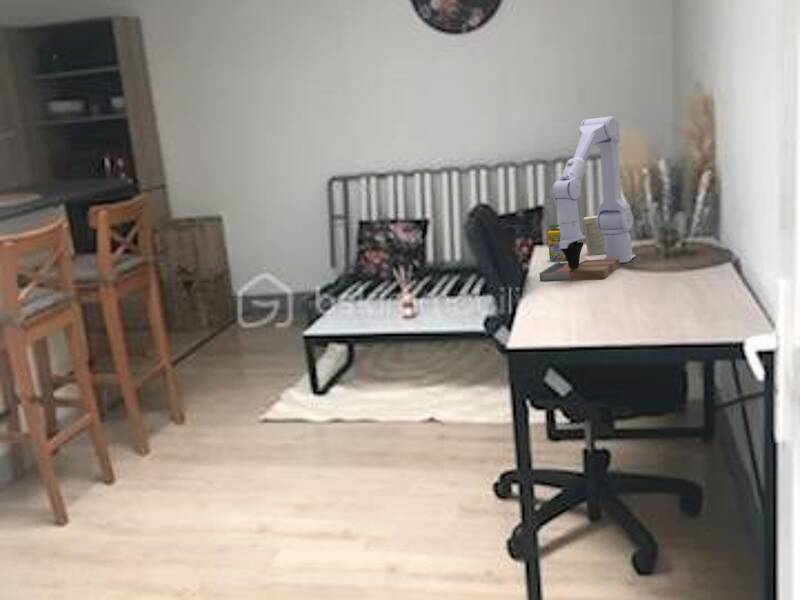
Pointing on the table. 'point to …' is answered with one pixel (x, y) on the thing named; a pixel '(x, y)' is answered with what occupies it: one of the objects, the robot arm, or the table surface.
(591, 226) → the skincare box
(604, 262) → the walnut board
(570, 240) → the robot arm
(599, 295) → the table surface
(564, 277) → the box
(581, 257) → the ivory tile
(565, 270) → the terracotta tile
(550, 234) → the crayon box
